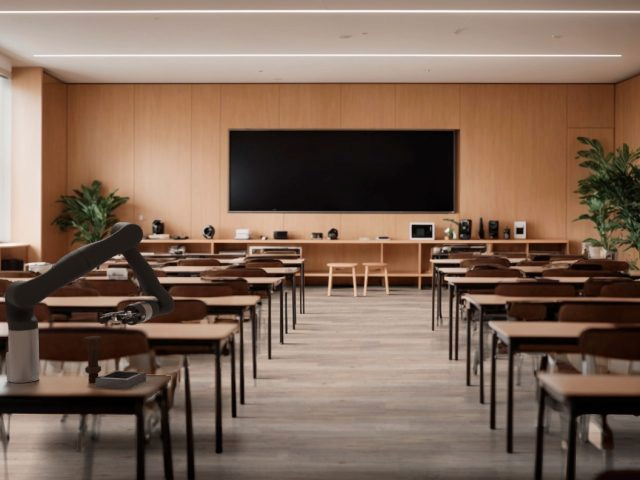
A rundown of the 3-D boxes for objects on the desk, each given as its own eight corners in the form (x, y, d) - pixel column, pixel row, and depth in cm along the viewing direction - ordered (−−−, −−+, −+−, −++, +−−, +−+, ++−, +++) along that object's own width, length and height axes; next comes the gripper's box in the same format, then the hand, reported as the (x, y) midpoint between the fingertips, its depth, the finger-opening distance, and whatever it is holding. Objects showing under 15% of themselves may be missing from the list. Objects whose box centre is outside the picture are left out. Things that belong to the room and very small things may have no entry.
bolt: (96, 385, 227) (95, 338, 227) (81, 384, 228) (80, 338, 228) (105, 381, 233) (104, 335, 232) (91, 380, 234) (90, 335, 233)
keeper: (95, 387, 224) (95, 377, 224) (115, 379, 235) (115, 370, 235) (127, 389, 221) (127, 379, 221) (146, 381, 232) (145, 372, 232)
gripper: (119, 302, 257) (92, 309, 242) (154, 303, 253) (129, 310, 238) (120, 322, 258) (94, 331, 242) (155, 323, 254) (130, 332, 238)
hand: (111, 321), depth 240 cm, fingers open, 8 cm apart
